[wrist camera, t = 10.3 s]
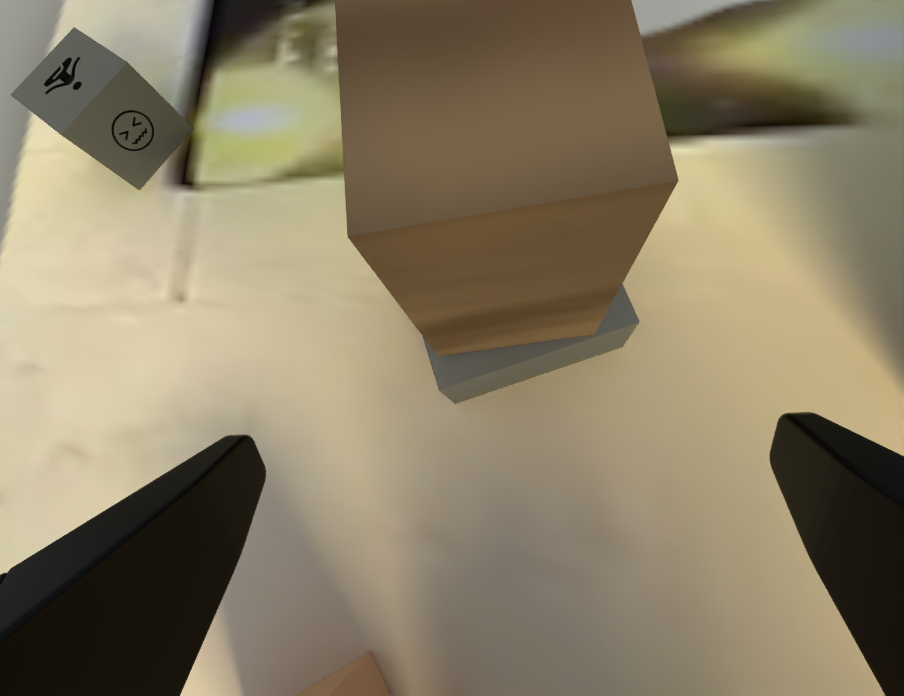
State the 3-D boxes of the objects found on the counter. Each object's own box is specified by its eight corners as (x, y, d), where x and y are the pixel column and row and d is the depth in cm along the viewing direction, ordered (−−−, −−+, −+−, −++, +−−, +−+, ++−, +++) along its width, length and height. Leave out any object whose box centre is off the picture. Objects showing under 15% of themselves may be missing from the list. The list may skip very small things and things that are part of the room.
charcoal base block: (621, 348, 22) (639, 321, 18) (455, 404, 22) (438, 390, 18) (558, 204, 24) (562, 153, 20) (410, 258, 24) (387, 219, 21)
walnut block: (594, 334, 18) (678, 180, 8) (438, 356, 18) (347, 236, 9) (567, 195, 19) (612, -72, 10) (424, 219, 20) (334, -8, 10)
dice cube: (146, 96, 31) (74, 27, 26) (194, 129, 29) (127, 62, 24) (94, 154, 30) (10, 94, 25) (140, 190, 29) (61, 134, 24)
